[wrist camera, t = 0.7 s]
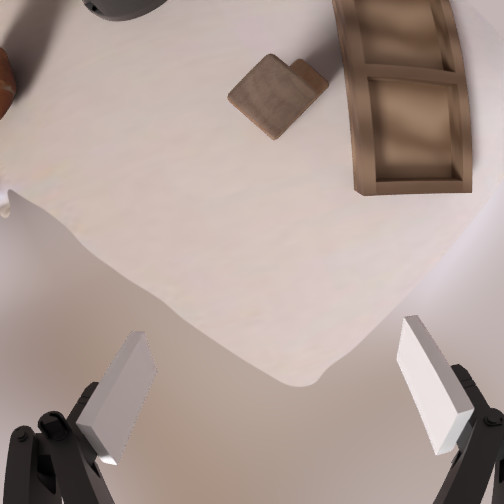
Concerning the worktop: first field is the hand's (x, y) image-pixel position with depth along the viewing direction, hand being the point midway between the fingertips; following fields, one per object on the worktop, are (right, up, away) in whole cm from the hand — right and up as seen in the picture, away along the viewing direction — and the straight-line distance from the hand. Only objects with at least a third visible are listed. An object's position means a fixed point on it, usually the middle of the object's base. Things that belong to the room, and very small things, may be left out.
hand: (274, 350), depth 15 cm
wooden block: (+3, +23, +20) cm, 30 cm away
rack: (+17, +26, +18) cm, 36 cm away
